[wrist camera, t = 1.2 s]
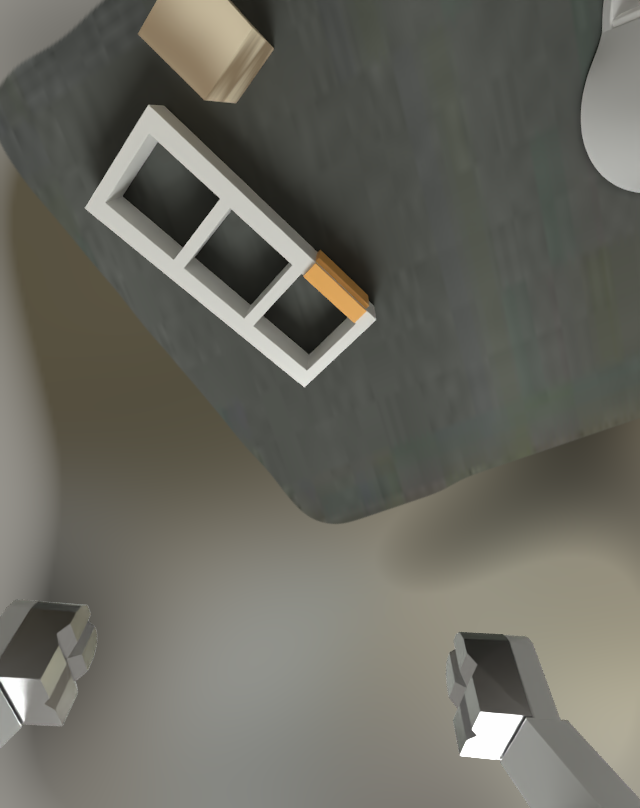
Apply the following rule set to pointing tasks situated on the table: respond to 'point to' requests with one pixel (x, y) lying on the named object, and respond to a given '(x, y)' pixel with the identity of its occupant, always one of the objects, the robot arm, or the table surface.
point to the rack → (182, 261)
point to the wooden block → (207, 45)
